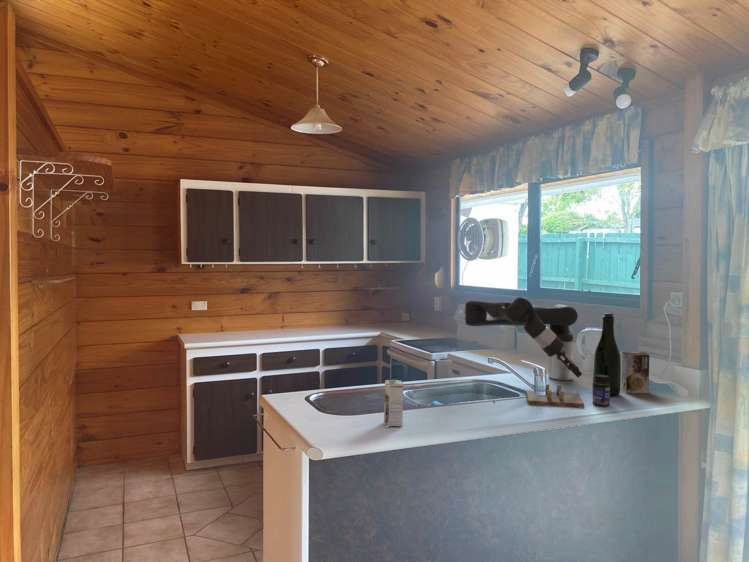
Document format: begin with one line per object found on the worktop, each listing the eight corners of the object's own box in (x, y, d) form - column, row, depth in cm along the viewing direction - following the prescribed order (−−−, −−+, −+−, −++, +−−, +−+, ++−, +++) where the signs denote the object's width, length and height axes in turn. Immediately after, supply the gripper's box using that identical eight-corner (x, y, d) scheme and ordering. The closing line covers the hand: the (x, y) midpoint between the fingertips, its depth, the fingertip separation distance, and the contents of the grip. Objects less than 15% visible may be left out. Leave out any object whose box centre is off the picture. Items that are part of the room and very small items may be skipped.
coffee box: (643, 390, 246) (644, 351, 245) (648, 393, 240) (650, 354, 239) (620, 389, 247) (621, 351, 246) (625, 393, 241) (626, 354, 240)
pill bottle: (607, 407, 219) (608, 378, 218) (590, 405, 222) (591, 376, 221) (611, 404, 224) (612, 375, 223) (594, 401, 227) (595, 373, 227)
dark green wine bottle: (623, 393, 240) (625, 312, 238) (616, 398, 232) (619, 315, 230) (596, 389, 246) (598, 311, 244) (589, 394, 238) (591, 313, 236)
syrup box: (383, 422, 199) (384, 379, 198) (401, 422, 199) (401, 379, 198) (385, 427, 193) (385, 383, 192) (403, 427, 194) (403, 383, 193)
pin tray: (528, 404, 223) (528, 391, 222) (526, 394, 238) (526, 381, 238) (584, 407, 219) (584, 394, 218) (578, 397, 234) (578, 384, 234)
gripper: (539, 344, 233) (568, 375, 231) (542, 351, 219) (573, 384, 217) (554, 332, 231) (583, 363, 229) (557, 337, 217) (589, 370, 215)
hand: (578, 373), depth 223 cm, fingers open, 8 cm apart
